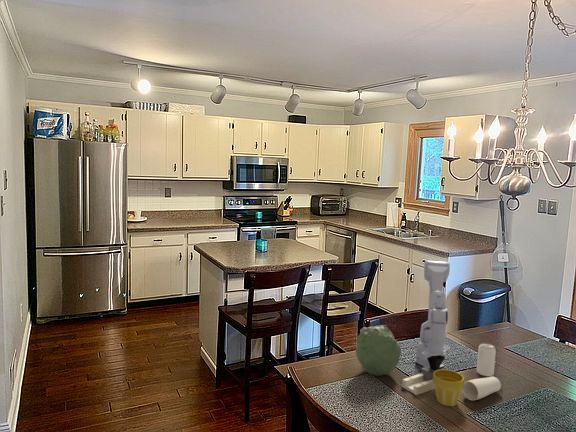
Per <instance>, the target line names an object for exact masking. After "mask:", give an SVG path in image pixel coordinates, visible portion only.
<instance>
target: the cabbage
mask: <svg viewBox="0 0 576 432" xmlns="http://www.w3.org/2000/svg"><path fill="white" fill-rule="evenodd" d="M359 332H360V333H359V334H358V335H356V347H355V355H356V359H357V361H358V363H360V365H361V366H362V368H363V369H364V371H365V372H367V373H369V374H371V375H372V376H376V377H377V376H378V377H381V376H384V375H389V374H391V372H392V371H393V372H394V370H395V369H396V367H397V365H398V364H399V361H400V358H401V352H402V350H401V349H402V348H401V345H400V344H399V342H397V341H398V340H396V339H395V337H394V334H393V332H392V331H391V330H390V328H389V327H388V326H387V325H386V324H377V325H375V326H374V325H371V326H368V327H365V326H364V327H362V328H360V330H359Z"/></svg>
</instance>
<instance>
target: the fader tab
mask: <svg viewBox="0 0 576 432" xmlns="http://www.w3.org/2000/svg"><path fill="white" fill-rule="evenodd" d="M420 369H421V370H420V371H421V372H420V373H421V374H423V375H424V379H423V380H425V381H428V380H431V379H433V373H434V370H432V369H430V368H428V367H424V366H423V367H421V368H420Z"/></svg>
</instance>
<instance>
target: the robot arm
mask: <svg viewBox="0 0 576 432" xmlns="http://www.w3.org/2000/svg"><path fill="white" fill-rule="evenodd" d="M423 267H424V270H423V274H424V275H423V277H424V280H426V281H427V282H428V285H429V289H428V290H429V292H428V294H429V295H428V312H427V314H428V315H427V317H428V318H427V320H426V321H425V322H423V323H422V324H421V326H420V331H419V342H417V346H416V349H415V350H416V352H415V360H414V363H417V364H418V365H420V366H422V367H423V368H424V367H428V368H430V369H432V370H434V371H436V370H439V369H441V368H443V367H445V364H442V363H443V362H444V360H445V359H446V355H447V354H446V353H451V352H450V351H451V347H450V346H448V345H446V330H447V329H446V327H447V325H448V321H449V312H448V306H447V297H446V294H445V293H444V292H443V288H444V283H446V282H447V280H448V278H449V276H450V263H449V261H441V260H428V259H426V260H425V261H424V266H423Z"/></svg>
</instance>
